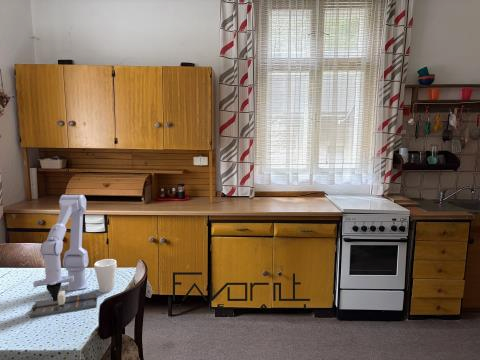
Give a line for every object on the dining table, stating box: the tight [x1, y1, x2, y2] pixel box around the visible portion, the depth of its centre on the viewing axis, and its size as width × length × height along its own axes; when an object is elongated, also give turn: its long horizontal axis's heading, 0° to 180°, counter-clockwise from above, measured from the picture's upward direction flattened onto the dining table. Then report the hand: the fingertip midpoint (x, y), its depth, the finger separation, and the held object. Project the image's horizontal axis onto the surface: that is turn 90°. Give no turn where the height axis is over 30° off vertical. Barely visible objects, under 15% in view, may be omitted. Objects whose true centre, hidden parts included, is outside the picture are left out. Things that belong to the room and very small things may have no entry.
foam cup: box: [94, 258, 118, 293], centre depth 156 cm, size 10×9×13 cm
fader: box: [58, 290, 66, 305], centre depth 141 cm, size 5×2×4 cm, turn 21°
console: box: [29, 291, 98, 319], centre depth 142 cm, size 12×24×2 cm, turn 111°
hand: (55, 300), depth 140 cm, fingers closed
